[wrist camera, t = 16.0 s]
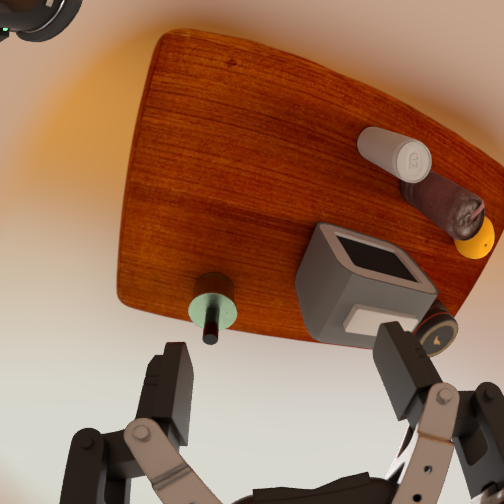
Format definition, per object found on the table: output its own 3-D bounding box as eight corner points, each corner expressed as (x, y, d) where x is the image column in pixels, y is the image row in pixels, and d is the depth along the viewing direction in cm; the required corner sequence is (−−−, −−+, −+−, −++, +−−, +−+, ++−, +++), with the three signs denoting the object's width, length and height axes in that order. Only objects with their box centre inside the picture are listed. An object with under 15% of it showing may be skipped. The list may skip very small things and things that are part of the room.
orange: (471, 247, 47) (494, 267, 40) (442, 246, 47) (464, 268, 40) (482, 207, 43) (508, 224, 37) (453, 204, 43) (479, 222, 36)
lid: (194, 327, 46) (189, 358, 40) (185, 290, 43) (177, 320, 37) (239, 324, 46) (239, 356, 40) (234, 286, 43) (234, 317, 37)
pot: (198, 305, 50) (195, 327, 45) (191, 274, 47) (187, 294, 42) (236, 303, 50) (236, 325, 45) (231, 270, 47) (231, 291, 42)
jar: (419, 338, 57) (433, 363, 51) (390, 326, 55) (405, 353, 48) (449, 304, 53) (467, 327, 47) (423, 288, 51) (442, 313, 44)
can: (437, 177, 41) (494, 211, 28) (416, 209, 43) (467, 252, 31) (414, 155, 39) (472, 184, 27) (391, 189, 42) (443, 228, 29)
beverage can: (356, 160, 40) (395, 185, 29) (354, 126, 37) (395, 140, 27) (386, 158, 39) (431, 182, 29) (385, 125, 37) (433, 139, 27)
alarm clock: (401, 246, 46) (449, 303, 33) (371, 301, 51) (405, 365, 38) (312, 218, 43) (345, 278, 30) (286, 282, 49) (302, 355, 35)
